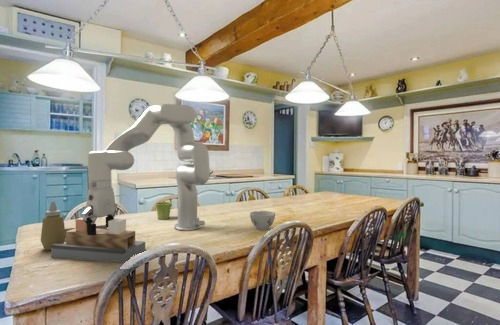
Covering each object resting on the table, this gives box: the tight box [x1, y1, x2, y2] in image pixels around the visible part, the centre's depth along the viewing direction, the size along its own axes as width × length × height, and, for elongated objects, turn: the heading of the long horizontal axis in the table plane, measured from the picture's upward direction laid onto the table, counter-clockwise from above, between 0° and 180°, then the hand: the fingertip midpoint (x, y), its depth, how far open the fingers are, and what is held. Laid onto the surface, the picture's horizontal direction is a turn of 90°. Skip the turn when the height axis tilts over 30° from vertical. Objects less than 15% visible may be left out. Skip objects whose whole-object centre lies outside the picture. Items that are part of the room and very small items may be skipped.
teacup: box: [249, 210, 276, 231], centre depth 143 cm, size 15×12×8 cm
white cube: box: [107, 218, 127, 234], centre depth 104 cm, size 4×4×4 cm
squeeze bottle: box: [40, 201, 66, 251], centre depth 110 cm, size 8×8×18 cm
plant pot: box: [154, 201, 173, 220], centre depth 162 cm, size 9×9×9 cm
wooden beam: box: [65, 227, 136, 249], centre depth 106 cm, size 24×6×5 cm, turn 80°
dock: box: [50, 240, 146, 264], centre depth 105 cm, size 28×14×4 cm, turn 80°
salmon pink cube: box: [75, 217, 93, 232], centre depth 107 cm, size 4×4×4 cm
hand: (101, 230), depth 106 cm, fingers open, 9 cm apart
